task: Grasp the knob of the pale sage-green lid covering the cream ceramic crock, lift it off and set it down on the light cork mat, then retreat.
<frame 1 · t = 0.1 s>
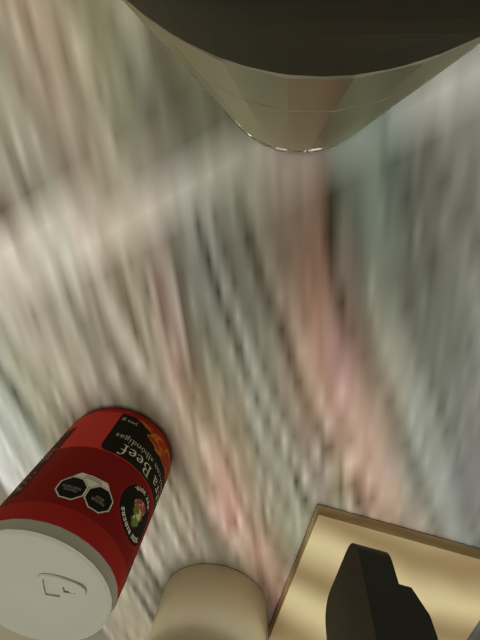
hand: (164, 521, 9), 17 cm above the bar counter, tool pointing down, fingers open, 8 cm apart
crock: (214, 603, 34), on the bar counter
mat: (377, 595, 32), on the bar counter
canned food: (122, 447, 30), on the bar counter
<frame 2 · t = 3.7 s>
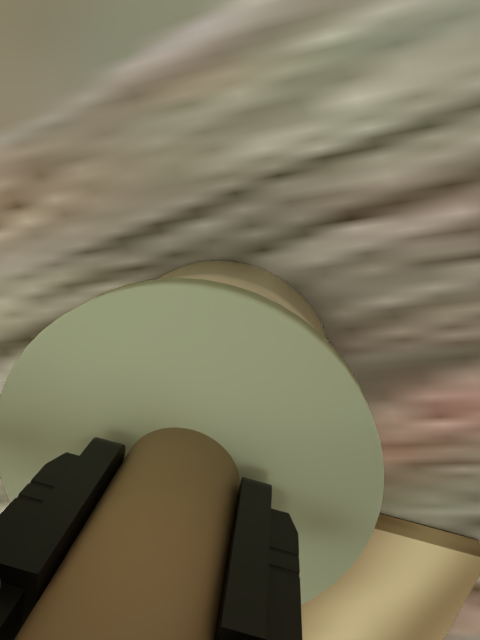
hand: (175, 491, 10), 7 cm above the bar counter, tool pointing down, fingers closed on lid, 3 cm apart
crock: (221, 367, 17), on the bar counter
mat: (285, 607, 20), on the bar counter
lid: (190, 455, 11), point 6 cm above the bar counter, touching crock, gripper
when the fingers open (4 cm above the bar counter, at t = 9.6 s): lid drops 1 cm, resting on mat.
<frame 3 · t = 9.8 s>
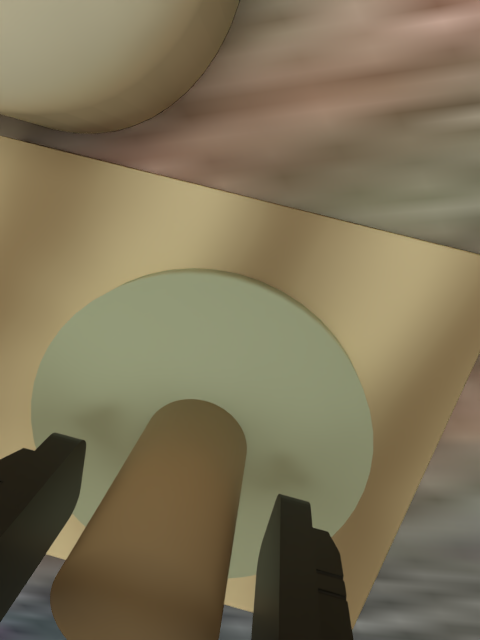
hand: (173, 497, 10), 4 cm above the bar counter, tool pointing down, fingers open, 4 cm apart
mat: (205, 409, 14), on the bar counter
lid: (202, 426, 13), point 1 cm above the bar counter, touching mat
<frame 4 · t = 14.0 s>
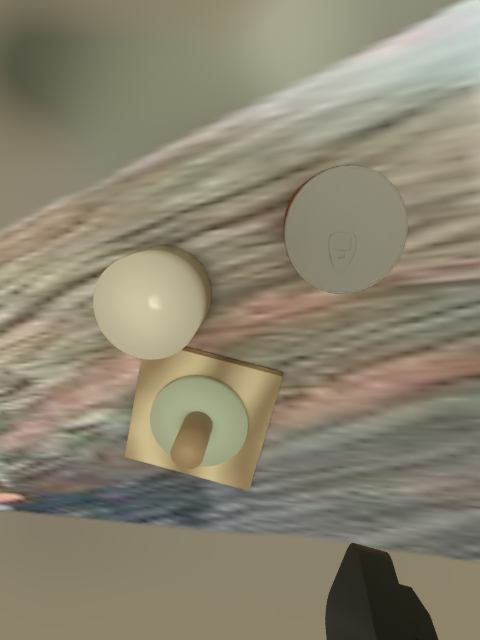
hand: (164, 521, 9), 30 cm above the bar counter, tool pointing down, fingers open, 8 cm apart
crock: (166, 292, 39), on the bar counter
mat: (201, 414, 43), on the bar counter
canned food: (327, 221, 36), on the bar counter
lid: (200, 419, 42), point 1 cm above the bar counter, touching mat
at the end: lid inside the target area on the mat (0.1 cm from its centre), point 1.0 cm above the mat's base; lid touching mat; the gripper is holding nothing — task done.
